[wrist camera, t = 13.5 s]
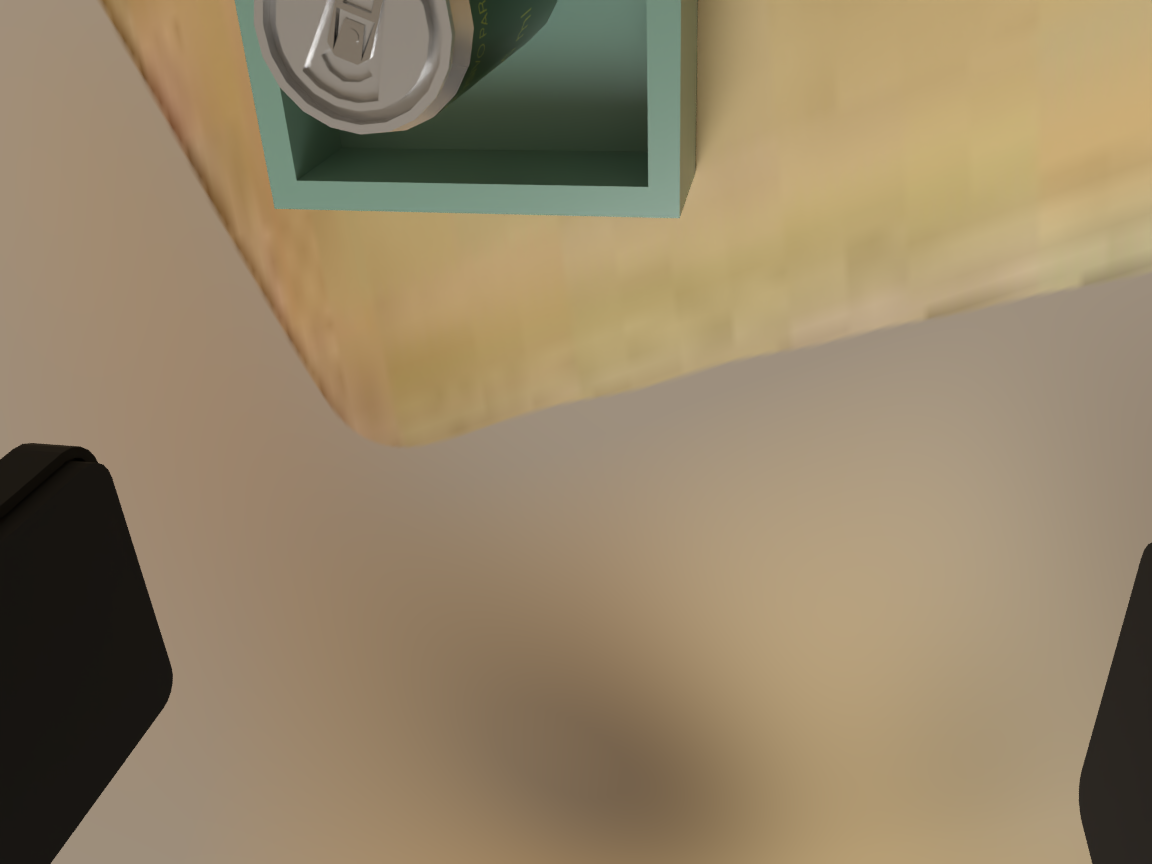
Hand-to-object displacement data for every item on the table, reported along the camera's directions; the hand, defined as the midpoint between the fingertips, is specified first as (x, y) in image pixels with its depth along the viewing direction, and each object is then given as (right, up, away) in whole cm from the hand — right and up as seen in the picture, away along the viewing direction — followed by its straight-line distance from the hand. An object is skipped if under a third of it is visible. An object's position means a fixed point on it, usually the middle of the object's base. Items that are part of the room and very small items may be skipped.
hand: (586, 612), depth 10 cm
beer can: (-3, +17, +25) cm, 31 cm away
